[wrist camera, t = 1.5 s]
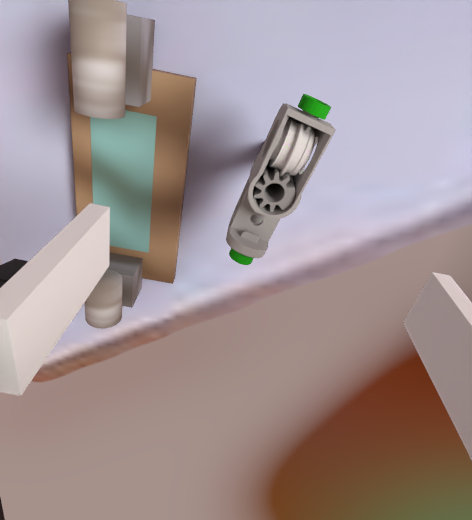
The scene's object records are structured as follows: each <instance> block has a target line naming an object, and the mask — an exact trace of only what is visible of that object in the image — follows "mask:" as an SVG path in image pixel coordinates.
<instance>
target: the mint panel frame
mask: <svg viewBox="0 0 472 520" xmlns="http://www.w3.org/2000/svg"><path fill="white" fill-rule="evenodd" d="M68 3H69V22H70V40H71V53H67V59H68V76H69V93H70V110H71V127H72V144H73V161H74V178H75V195H76V212H77V215H78V214H79V213H80V212H81V211H82V210H83V209H84V208H86V207H87V206H88V205H89V204H90V203H92V204H97V205H102V206H107V207H110V244H109V267H108V268H107V270H106V271H105V273H104V274H103V276H102V277H101V279H100V280H99V282H98V283H97V285H96V286H95V287H94V289H93V290H92V292H91V293H90V295H89V296H88V298H87V299H86V301H85V319H86V322H87V323H88V324H89V325H90V326H92V327H95V328H109V327H112V326H114V325H116V324H117V323H119V322H120V320H121V318H122V306H126V307H133V304H134V302H135V300H136V298H137V296H138V294H139V292H140V290H141V287H142V278H145V279H150V280H156V281H161V282H167V283H172V284H173V282H174V279H175V273H176V263H177V254H178V245H179V235H180V226H181V217H182V208H183V198H184V189H185V180H186V170H187V161H188V152H189V143H190V133H191V124H192V115H193V105H194V96H195V87H196V78H194V77H189V76H184V75H179V74H174V73H170V72H165V71H160V70H155V69H152V66H153V46H154V26H155V20H151V19H146V18H142V17H137V16H132V15H127V4H126V3H123V2H119V1H115V0H68Z"/></svg>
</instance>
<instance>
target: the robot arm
mask: <svg viewBox="0 0 472 520" xmlns="http://www.w3.org/2000/svg"><path fill="white" fill-rule="evenodd" d="M109 244H110V207H107V206H102V205H97V204H92V203H90V204H89V205H88V206H87V207H86V208H84V209H83V210H82V211H81V212H80V213H79V214H78V215H77V216H76V217H75V218H74V219H73V220H72V221H71V222H70V223H69V224H68V225H66V226H65V227H64V228H63V229H62V230H61V231H60V232H59V233H58V234H57V235H56V236H55V237H54V238H53V239H52V240H51V241H50V242H49V243H47V244H46V245H45V246H44V247H43V248H42V249H41V250H40V251H39V252H38V253H37V254H36V255H35V256H34V257H33V258H32V259H31V260H29V261H24V260H18V259H14V260H11V261H9V262H7V263H5V264H2V265H0V392H2V393H8V394H13V395H19V396H21V395H22V394H23V392H24V390H25V389H26V388H27V386H28V385H29V383H30V382H31V380H32V379H33V377H34V376H35V374H36V373H37V372H38V370H39V369H40V367H41V366H42V364H43V363H44V361H45V360H46V358H47V357H48V355H49V354H50V352H51V351H52V349H53V348H54V346H55V345H56V344H57V342H58V341H59V339H60V338H61V336H62V335H63V333H64V332H65V330H66V329H67V327H68V326H69V324H70V323H71V321H72V320H73V318H74V317H75V315H76V314H77V313H78V311H79V310H80V308H81V307H82V305H83V304H84V302H85V301H86V299H87V298H88V296H89V295H90V293H91V292H92V290H93V289H94V287H95V286H96V285H97V283H98V282H99V280H100V279H101V277H102V276H103V274H104V273H105V271H106V270H107V268H108V267H109ZM403 324H404V326H405V328H406V330H407V332H408V334H409V336H410V337H411V340H412V342H413V344H414V346H415V348H416V350H417V352H418V354H419V356H420V358H421V360H422V362H423V364H424V366H425V368H426V370H427V372H428V374H429V376H430V378H431V380H432V381H433V384H434V386H435V388H436V390H437V392H438V394H439V396H440V398H441V400H442V402H443V404H444V406H445V408H446V410H447V412H448V414H449V415H450V418H451V420H452V422H453V423H454V426H455V428H456V430H457V432H458V434H459V435H460V438H461V440H462V442H463V444H464V446H465V447H466V450H467V452H468V454H469V456H470V457H471V460H472V302H470V300H469V299H468V297H467V296H466V295H465V294H464V292H463V291H462V290H461V289H460V287H459V286H458V285H457V284H456V283H455V281H454V280H453V279H452V277H451V276H448V275H444V274H439V273H434V272H432V273H431V275H430V277H429V278H428V280H427V282H426V284H425V285H424V287H423V289H422V290H421V292H420V294H419V296H418V297H417V299H416V301H415V303H414V304H413V306H412V308H411V309H410V311H409V313H408V315H407V316H406V318H405V320H404V322H403ZM0 520H5V519H4V514H3V509H2V504H1V499H0Z"/></svg>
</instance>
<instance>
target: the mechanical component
mask: <svg viewBox="0 0 472 520" xmlns="http://www.w3.org/2000/svg"><path fill="white" fill-rule="evenodd" d="M298 107H299V108H301V109H302V110H303V111H301V110H299V109H297V108H295V107H293V106H291V105H288V104H283V105H282V106H281V108H280V110H279V112H278V114H277V116H276V118H275V120H274V122H273V124H272V127H271V129H270V131H269V133H268V136H267V138H266V140H265V142H264V143H263V145H262V147H261V151H260V153H259V154H258V155H257V157H256V158H255V160H254V164H253V166H252V169H251V172H250V176H249V179H248V181H247V183H246V185H245V188H244V190H243V192H242V194H241V197H240V199H239V201H238V203H237V206H236V208H235V210H234V213H233V215H232V218H231V221H230V224H229V227H228V232H227V237H226V241H227V243H228V245H229V246H230V247H231V250H230V253H229V254H230V257H231V258H232V259H233V260H234V261H236V262H238V263H240V264H243V265H249V264H251V262H252V260H253V258H261V257H263V255H264V254H265V252H266V250H267V248H268V241H269V239H270V237H271V236H272V234H273V232H274V230H275V228H276V226H277V224H278V222H279V220H280V218H283V217H286V216H287V215H289V214H291V213H292V212H293V211H294V210H295V209H296V208H297V206H298V204H299V202H300V199H301V194H302V192H303V190H304V188H305V186H306V184H307V182H308V181H309V179H310V177H311V175H312V173H313V171H314V169H315V168H316V166H317V164H318V162H319V160H320V158H321V156H322V155H323V153H324V151H325V149H326V147H327V145H328V143H329V142H330V140H331V138H332V136H333V134H334V132H335V129H334V128H333V126H332V125H331V124H329V123H327V122H325V121H323V120H321V119H325V118H326V116H327V114H328V112H329V110H330V109H331V107H330V106H329V105H327V104H325V103H323V102H321V101H319V100H317V99H315V98H313V97H311V96H309V95H306V94H303V96H302V98H301V100H300V103H299V105H298ZM319 118H321V119H319ZM317 142H318V143H317ZM316 143H317V147H316V150H315V153H314V155H313V157H312V159H311V161H310V163H309V165H308V166H307V168H306V169H305V171H304V167H305V165H306V163H307V161H308V160H309V158H310V155H311V153H312V151H313V148H314V146H315V144H316ZM303 171H304V172H303Z"/></svg>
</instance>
